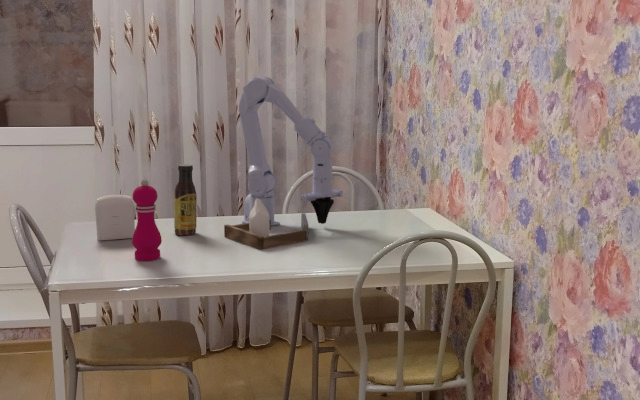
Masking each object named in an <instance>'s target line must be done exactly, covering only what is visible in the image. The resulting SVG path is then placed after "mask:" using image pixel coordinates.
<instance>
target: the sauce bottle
mask: <svg viewBox="0 0 640 400" xmlns="http://www.w3.org/2000/svg"><path fill="white" fill-rule="evenodd" d="M177 169H178V182H177V184H176V185H175V188H174V203H173V204H174V205H173V206H174V208H173V209H174V215H173V217H174V218H173V219H174V220H173V221H174V224H173V225H174V227H173V228H174V234H175V235H178V236H191V235H194V234H196V232H197V201H198V200H197V190H196V186H195V185H194V182H193V170H194V166H193V164H184V163H183V164H178V167H177Z"/></svg>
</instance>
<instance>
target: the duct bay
mask: <svg viewBox="0 0 640 400" xmlns="http://www.w3.org/2000/svg"><path fill="white" fill-rule="evenodd" d="M269 224H270V231H271V230H272V229H271V227H272V226H271V220H269ZM223 229H224V234H223V235H224V238H226V239H229V240H231V241H234V242H237V243H239V244H242V245H245V246H248V247H251V248H254V249H256V250H260V251H263V250H267V249H272V248H278V247H283V246H287V245H292V244H297V243H301V242H306V241H309V224H308V225H305V230H302V229H300V230H295V231H294V230H293V231H289V232H283V233H278V234H273V235H270V236H266V237H264V236H261V235H258V234H255V233H252V232H250V229H249V223H238V224H232V225H231V224H224V226H223Z"/></svg>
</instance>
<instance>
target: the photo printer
mask: <svg viewBox="0 0 640 400" xmlns="http://www.w3.org/2000/svg"><path fill="white" fill-rule="evenodd" d="M134 207H135V205H134V200H133V198H132V196H130V195H124V194H109V195H103V196H101V197H98V198H96V202H95V208H94V212H95V226H96V238H97V241H100V242H101V241H113V240H122V239H123V240H125V239H132V237H133V234H134V231H135V229H136V228H135V227H136V226H135V209H134Z"/></svg>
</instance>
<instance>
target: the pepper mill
mask: <svg viewBox="0 0 640 400" xmlns="http://www.w3.org/2000/svg"><path fill="white" fill-rule="evenodd" d="M157 200H158V192H157V190H156V188H155V187H153V186H150V185H149V180H147V179H146V178H145V179H141V182H140V185H139V186H137V187H136V188H135V189H134V190H133V192H132V201H133V203H135V204H136V205H134V207H135V209H134V212H136V214H137V222H136V226H135V227H136V228H135V231H134V234H133V237H132V238H131V243H132V244H131V245H132V246H133V247H134V249H135V251H134V259H135V260H136V261H141V262H150V261H155V260H159V259H160V258H161V249H159V247H160V246H161V244H162V242H163V240H162V234H161V232H160V230H159V228H158V226H157V223H156V220H155V212H156V210H157V208H156V206H157V205H156V204H155V203H156V202H157Z"/></svg>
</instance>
